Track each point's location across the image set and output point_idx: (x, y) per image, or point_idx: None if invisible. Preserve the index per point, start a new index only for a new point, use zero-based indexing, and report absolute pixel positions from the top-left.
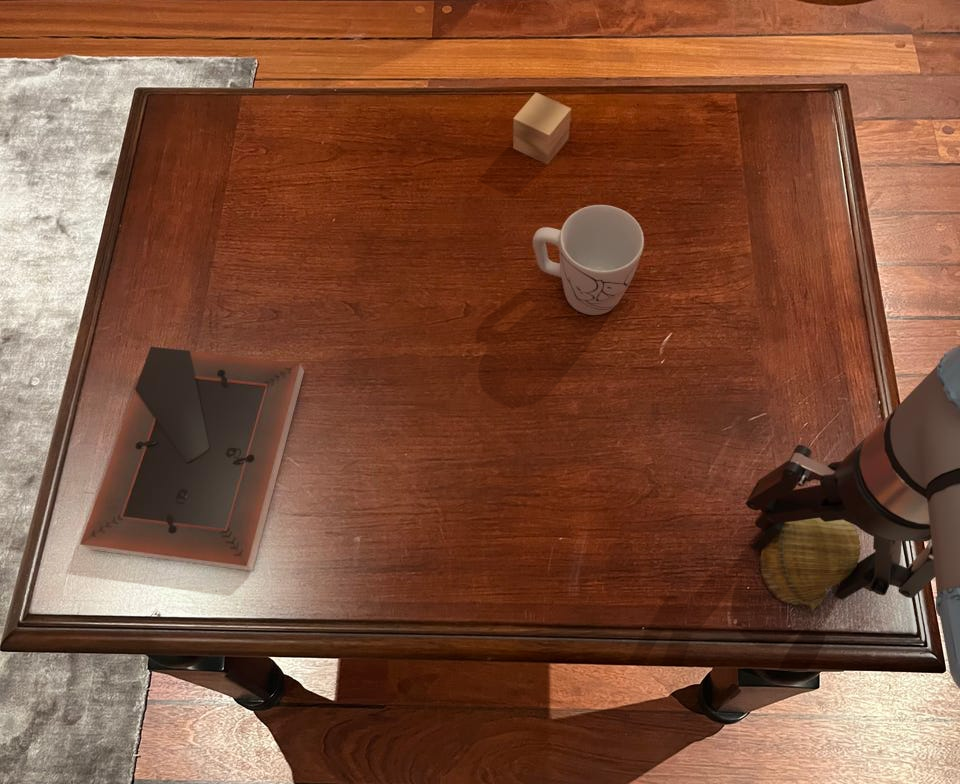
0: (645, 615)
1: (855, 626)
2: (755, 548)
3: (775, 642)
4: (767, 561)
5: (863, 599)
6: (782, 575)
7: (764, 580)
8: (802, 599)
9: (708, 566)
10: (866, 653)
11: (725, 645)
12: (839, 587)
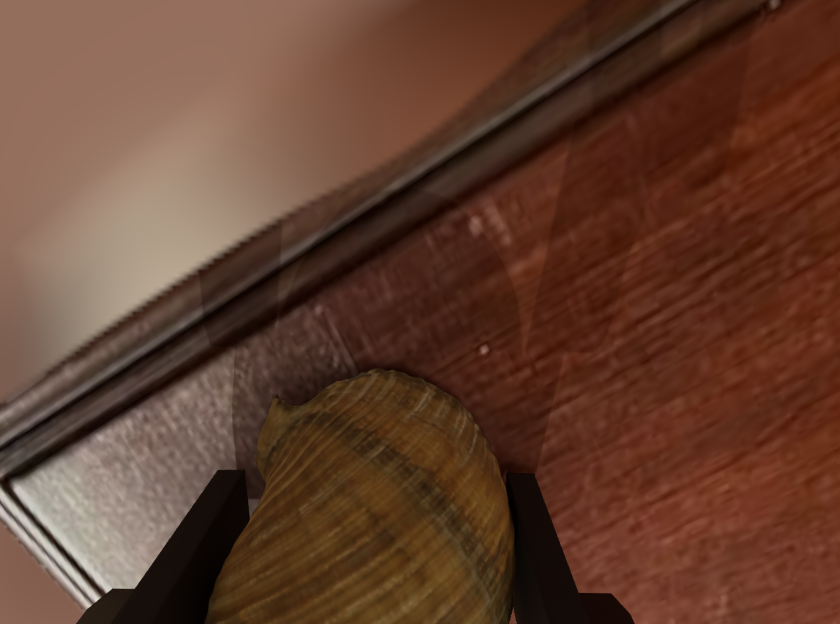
0: (779, 55)
1: (153, 415)
2: (524, 477)
3: (329, 236)
4: (489, 475)
5: (176, 494)
6: (425, 468)
7: (453, 400)
8: (317, 417)
9: (626, 343)
10: (84, 360)
11: (470, 126)
12: (239, 504)
